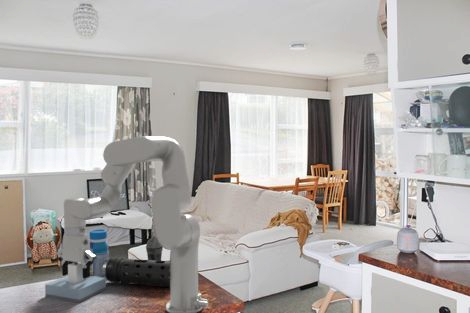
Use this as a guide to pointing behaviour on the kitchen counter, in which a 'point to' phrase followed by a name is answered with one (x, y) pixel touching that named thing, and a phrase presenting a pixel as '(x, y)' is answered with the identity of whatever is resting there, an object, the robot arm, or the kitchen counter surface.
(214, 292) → the kitchen counter surface
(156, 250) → the beverage cup
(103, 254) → the beverage bottle
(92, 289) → the socket plate
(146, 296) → the kitchen counter surface
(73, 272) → the white square peg
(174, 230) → the robot arm
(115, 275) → the muzzle brake
